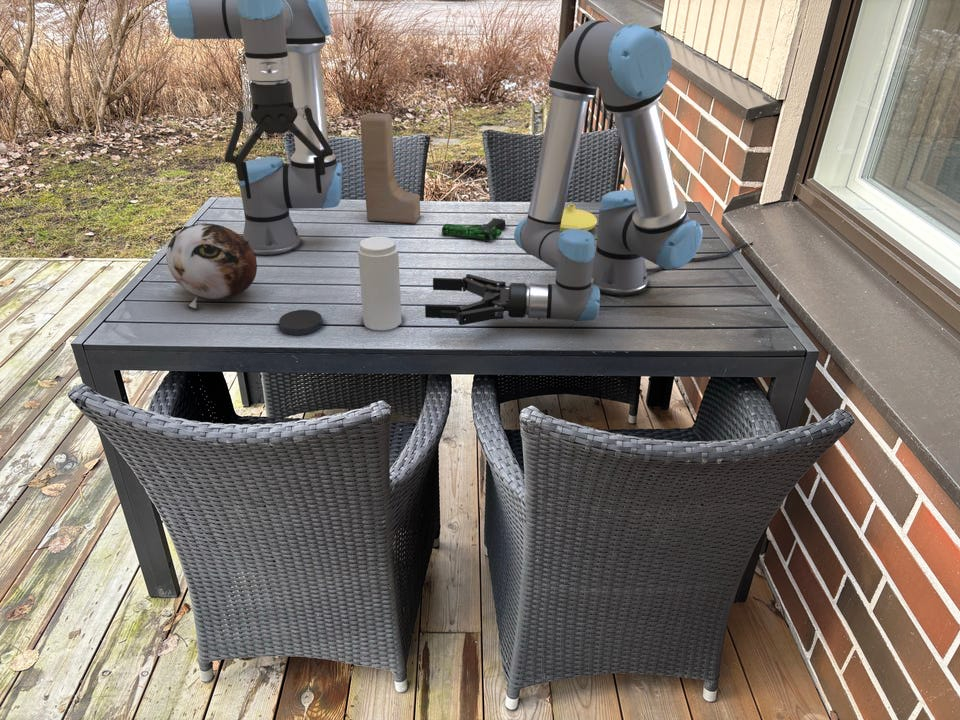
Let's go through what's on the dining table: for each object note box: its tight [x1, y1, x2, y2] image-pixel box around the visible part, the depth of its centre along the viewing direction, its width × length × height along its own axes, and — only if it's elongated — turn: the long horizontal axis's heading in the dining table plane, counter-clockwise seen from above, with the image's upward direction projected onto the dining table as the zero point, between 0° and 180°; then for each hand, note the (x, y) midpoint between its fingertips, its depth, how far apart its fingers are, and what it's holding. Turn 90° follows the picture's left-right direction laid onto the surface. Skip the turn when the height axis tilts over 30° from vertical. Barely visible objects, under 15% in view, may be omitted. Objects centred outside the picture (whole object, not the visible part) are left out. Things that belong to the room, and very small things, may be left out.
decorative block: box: [359, 112, 421, 224], centre depth 209 cm, size 8×15×30 cm, turn 82°
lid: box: [278, 309, 324, 336], centre depth 157 cm, size 9×9×2 cm
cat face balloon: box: [165, 222, 258, 309], centre depth 165 cm, size 22×18×20 cm
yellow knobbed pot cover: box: [559, 203, 598, 232], centre depth 209 cm, size 16×16×7 cm
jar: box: [357, 236, 403, 331], centre depth 155 cm, size 8×8×19 cm
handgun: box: [441, 217, 506, 242], centre depth 207 cm, size 16×3×15 cm
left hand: (284, 194), depth 142 cm, fingers open, 13 cm apart
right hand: (429, 296), depth 156 cm, fingers open, 13 cm apart
